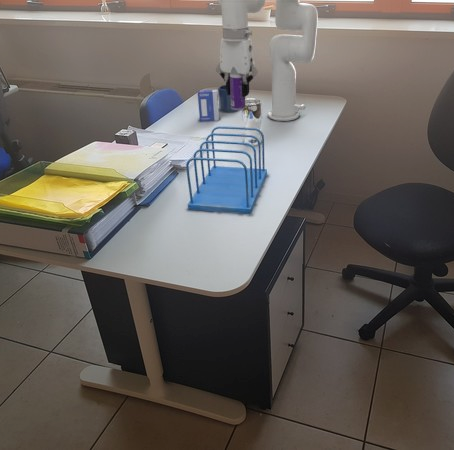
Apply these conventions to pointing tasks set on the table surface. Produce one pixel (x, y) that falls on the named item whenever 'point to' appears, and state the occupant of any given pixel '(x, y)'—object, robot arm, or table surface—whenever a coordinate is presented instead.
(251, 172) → the file sorter
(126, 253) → the table surface
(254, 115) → the beer glass
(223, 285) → the table surface
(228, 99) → the coffee mug
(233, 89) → the container
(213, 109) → the blue white carton
